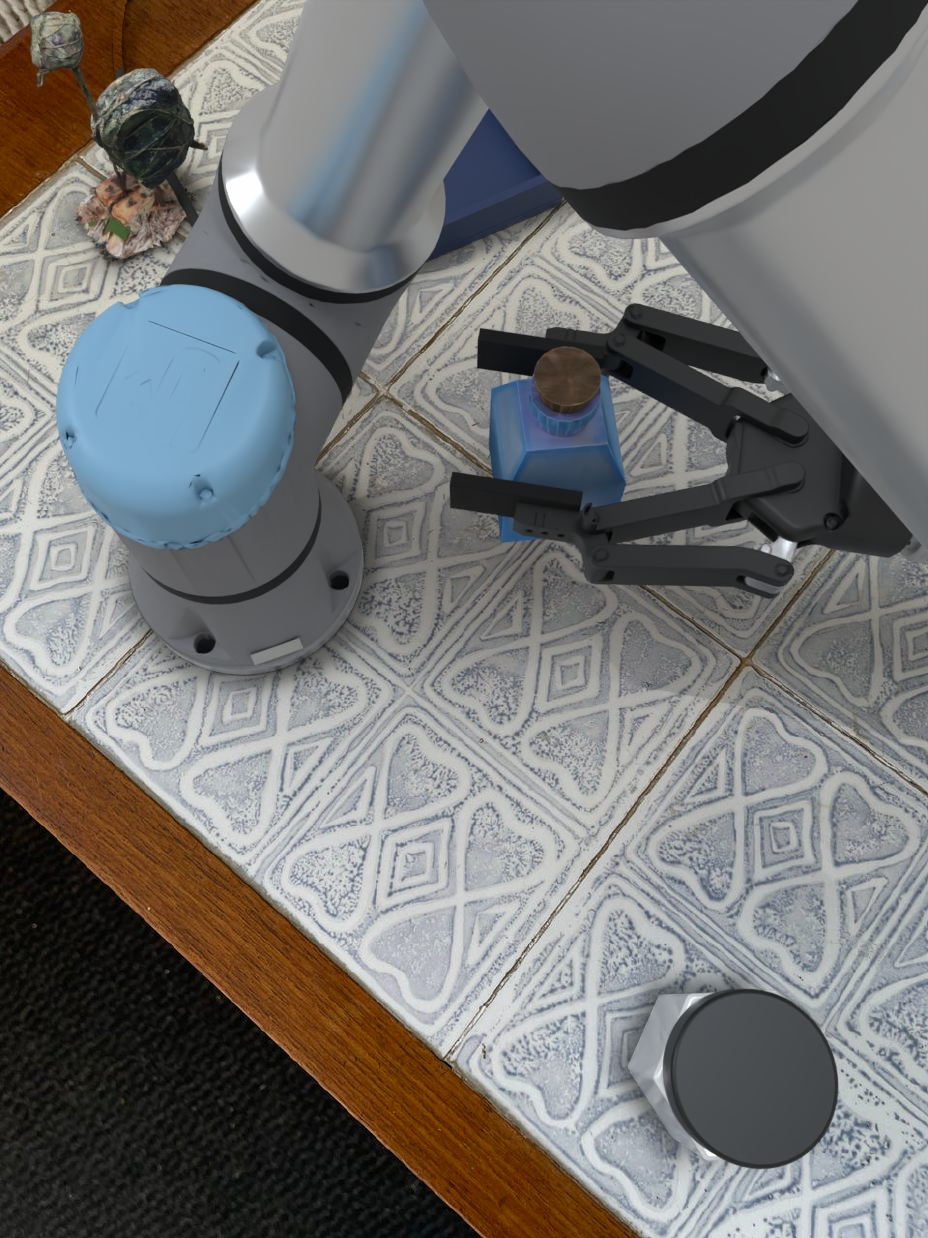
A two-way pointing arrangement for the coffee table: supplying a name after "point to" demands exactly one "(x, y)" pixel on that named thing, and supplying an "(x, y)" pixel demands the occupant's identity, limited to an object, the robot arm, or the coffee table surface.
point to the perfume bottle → (557, 432)
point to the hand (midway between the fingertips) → (465, 417)
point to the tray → (490, 188)
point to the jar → (737, 1075)
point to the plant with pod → (124, 144)
